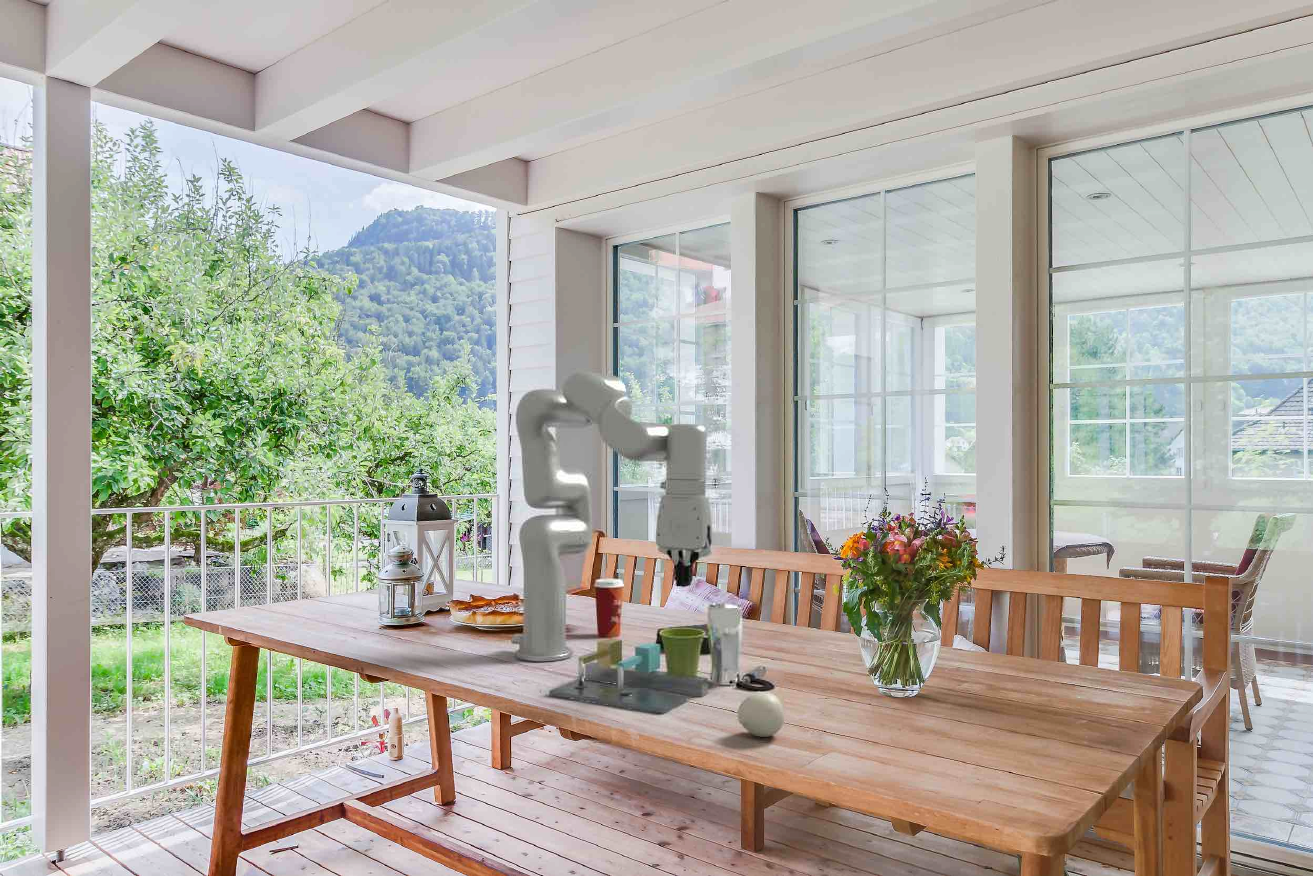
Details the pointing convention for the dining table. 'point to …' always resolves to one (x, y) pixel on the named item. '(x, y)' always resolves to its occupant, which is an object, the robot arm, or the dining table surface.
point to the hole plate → (620, 696)
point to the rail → (650, 680)
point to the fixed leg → (602, 657)
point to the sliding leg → (640, 661)
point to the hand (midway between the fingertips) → (683, 585)
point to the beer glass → (724, 642)
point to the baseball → (761, 714)
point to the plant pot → (682, 649)
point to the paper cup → (608, 606)
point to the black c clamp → (755, 680)
